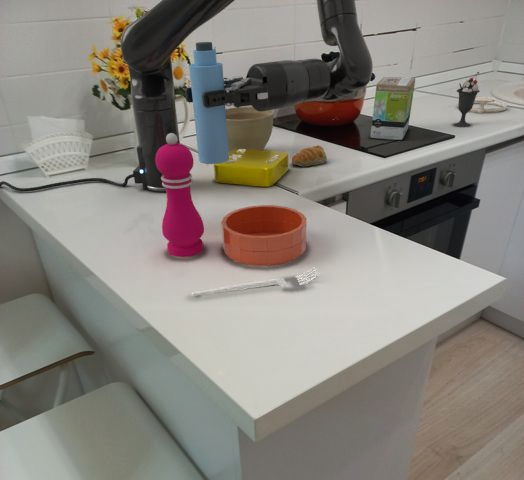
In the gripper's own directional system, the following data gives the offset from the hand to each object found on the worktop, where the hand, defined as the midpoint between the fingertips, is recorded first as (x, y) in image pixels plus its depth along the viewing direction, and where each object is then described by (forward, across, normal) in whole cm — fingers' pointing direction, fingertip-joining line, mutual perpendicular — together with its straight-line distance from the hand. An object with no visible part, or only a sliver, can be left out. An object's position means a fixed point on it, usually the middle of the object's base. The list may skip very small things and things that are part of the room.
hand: (195, 97), depth 82 cm
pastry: (-44, -23, +24) cm, 55 cm away
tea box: (-82, -32, +24) cm, 91 cm away
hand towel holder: (-133, -36, +24) cm, 140 cm away
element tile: (-26, -24, +24) cm, 42 cm away
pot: (-4, +13, +24) cm, 27 cm away
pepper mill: (+8, +6, +24) cm, 25 cm away
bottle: (-3, 0, +10) cm, 11 cm away
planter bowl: (-35, -41, +24) cm, 59 cm away
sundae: (-107, -25, +24) cm, 113 cm away
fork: (+5, +24, +24) cm, 34 cm away
